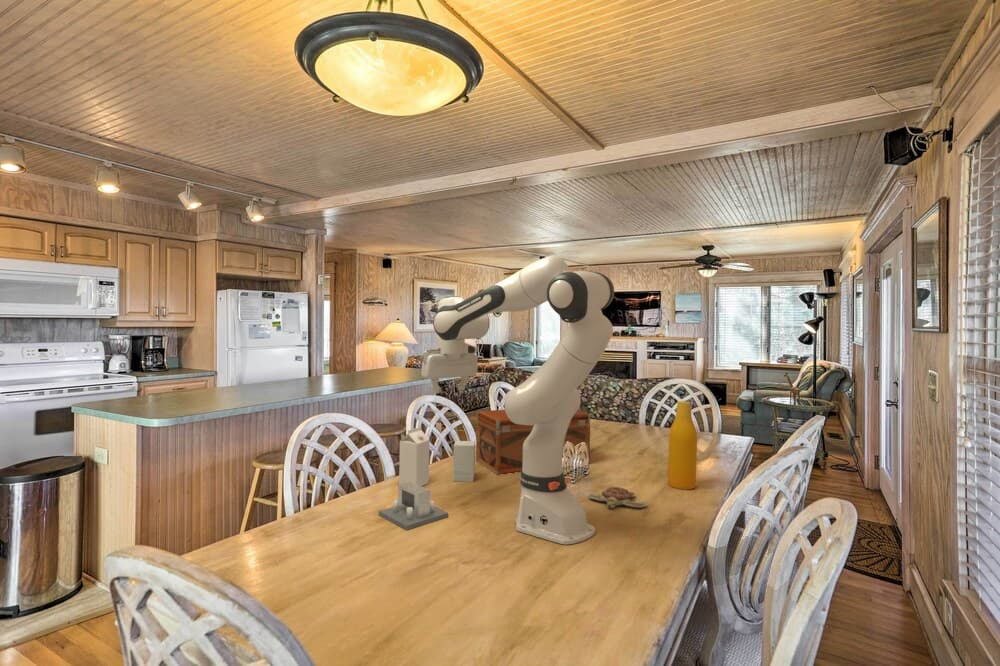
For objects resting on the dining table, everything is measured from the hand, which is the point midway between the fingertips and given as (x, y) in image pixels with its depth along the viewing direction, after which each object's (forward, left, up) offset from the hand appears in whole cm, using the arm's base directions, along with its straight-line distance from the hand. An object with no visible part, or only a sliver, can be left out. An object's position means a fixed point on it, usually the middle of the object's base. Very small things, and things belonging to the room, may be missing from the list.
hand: (449, 391), depth 162 cm
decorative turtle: (-39, -36, -34) cm, 63 cm away
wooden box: (+8, -49, -34) cm, 60 cm away
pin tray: (-7, +18, -33) cm, 38 cm away
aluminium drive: (-7, +18, -32) cm, 37 cm away
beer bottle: (-45, -67, -33) cm, 87 cm away
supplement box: (+10, -15, -33) cm, 38 cm away
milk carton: (+16, +2, -33) cm, 37 cm away
